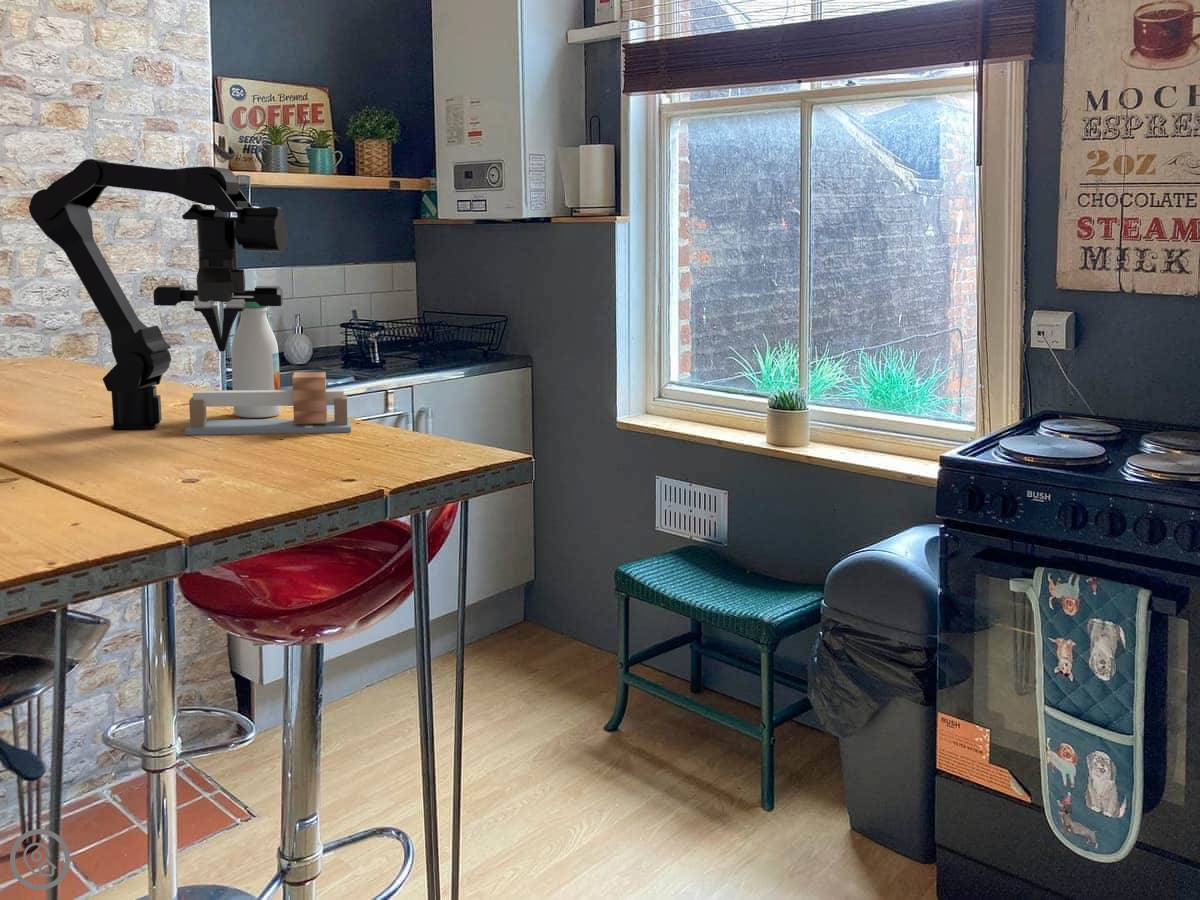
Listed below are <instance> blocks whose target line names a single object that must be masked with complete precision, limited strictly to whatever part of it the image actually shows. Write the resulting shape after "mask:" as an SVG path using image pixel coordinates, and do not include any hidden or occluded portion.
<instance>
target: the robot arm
mask: <svg viewBox="0 0 1200 900" xmlns="http://www.w3.org/2000/svg"><path fill="white" fill-rule="evenodd" d="M108 187H111V188H122V189H129V190H130V189H131V190H136V191H137V190H139V191H147V192H157V193H165V194H166V193H167V194H170V195H173V196H177V197H179V198H181V199H184V200H187V201H189V202H190V201H191V202H194V203H192V205H191V206H190V208H188V210H187V211H186V212H184V213H183V214H182V215H181V218H182V219H183V220H187V221H188V220H191V221H192V220H193V221H194V220H195V221H196V231H197V232H196V233H197V253H198V254H197V255H198V271H197V274H196V287H197V288H196V289H186V288H185V285H184V284H182V285H181V284H169V285H167V284H165V285H164V284H161V285H158V286H156V287H155V289H154V290H153V305H154V306H157V307H158V306H164V307H165V306H170V307H171V306H174V307H175V306H176V305H178V303H179V304H180V303H181V302H193V304H194V308H193V311H194V312H200V313H201V315H202V316H203V318H204V319H205V321H206V323H207V324H208V327H209V328H210V329H209V330H210V331H211V334H212V336H213V340H214V342H215V344H216V347H217V350H218V352H222V353H223V352H225V351H226V348H227V345H228V341H229V338H230V335H231V331H232V329H233V325H234V322H235V320H236V318H237V316H238V314H239V312H240V313H241V312H242V311H244V310H245V309H246V306H245V303H246V302H256V303H257V304H258V305H260V306H267V307H282V306H283V304H284V295H283V294H284V293H283V289H282V288H281V287H280V286H279V285H256V286H255V287H254V290H252V289H251V290H249V289H248V290H247V289H246V276H245V269H243V268H239V267H238V263H239V262H238V261H239V260H238V245H239V246H242V248H243V249H244V251H246V252H266V253H267V252H269V253H272V252H273V253H276V252H277V253H283V252H284V251H285V250H286V248H287V245H288V238H289V233H288V232H289V231H288V230H289V229H288V228H287V224H286V221H285V218H284V216H283V213H282V212H283V211H282V207H281V206H267V207H254V206H253V205H252V204H251V202H250V200H248V199H247V197H246V196H245V195H244V193H243V192H242V191H241V189H240V182H239V179H238V178H237V176H236V175H235V174H234V172H233V171H231V170H230V169H229V168H225V167H218V166H209V165H208V166H205V165H204V166H191V167H180V168H170V169H169V168H163V167H162V168H160V167H153V166H143V165H135V164H134V165H133V164H127V163H116V162H109V161H107V160H104V159H95V158H87V159H84V160H83V161H82V162H80V163H79V164H78V165H77V166H76V167H75V168H74V169H73V170H71V171H70V172H68V173H66V174H65V175H63V176H62V177H60V178H58V179H57V180H55V181H54V182H52V183H51V184H50V185H49V186H48V187H47V188H42V189H41V190H38V191H36V192H35V193H34V194H33V195H32V197H31V198H30V202H29V205H28V212H29V214H30V217H31V218H32V220H33V222H35V224H36V225H37V226H38V227H39V228H40V230H41V231H42V232H43V233H44V235H45V236H46V237H48V239H50V240H51V241H52V242H53V243H55V244H56V245H57V246H58V247H59V248H61V249H62V251H63V252H64V253H65V255H66V257H67V259H68V260H69V262H70V264H71V266H72V267H73V269H74V271H75V273H76V274H77V276H78V278H79V279H80V281H81V283H82V285H83V286H84V288H85V290H86V292H87V293H88V295H89V297H90V299H91V301H92V303H93V304H94V306H95V308H96V310H97V311H98V313H99V315H100V316H101V318H102V320H103V322H104V324H105V325H106V327H107V329H108V332H109V333H110V342H111V352H112V354H113V357H114V361H115V362H116V364H115V365H114V366H113V367H112V368H111V369H110V370H109V371H108V372H107V373H106V375H105V376H104V377H103V378H102V382H103V384H104V386H105V389H106V390H107V391H108V392H111V403H112V404H111V405H112V406H111V407H112V419H113V420H112V422H113V423H112V424H111V425H110V428H111V429H112V430H130V429H131V430H134V429H135V430H137V429H138V430H139V429H140V430H142V429H143V430H144V429H146V430H147V429H155V428H156V427H157V426H159V424H160V423H161V422H162V419H163V417H162V416H163V414H162V401H161V395H160V394H159V395H158V394H157V393H158V392H157V386H159V385H160V383H161V381H162V377H163V375H164V374H165V373H166V372H167V371H168V369H169V367H170V366H171V365H170V364H171V362H172V355H171V353H170V350H169V349H171V348H172V347H171V345H170V344H169V343H167V340H166V339H164V336H163V334H162V330H161V329H160V327H159V325H152V326H147V325H146V324H145V323H143V322H142V321H141V320H140V318H139V317H138V316H137V314H136V312H135V310H134V308H133V307H132V305H131V303H130V301H129V299H128V298H127V296H126V294H125V292H124V291H123V289H122V287H121V285H120V283H119V282H118V280H117V278H116V276H115V275H114V272H113V271H112V269H111V267H110V265H109V264H108V262H107V261H106V258H105V257H104V255H103V254H102V252H101V250H100V248H99V246H98V245H97V242H96V241H95V238H94V231H93V230H94V229H93V221H92V218H91V215H90V213H89V212H90V211H89V209H91V207H92V206H94V205H95V204H96V203H97V202H98V200H99V198H100V197H101V195H102V194H103V192H104V190H105V189H107V188H108ZM195 203H196V204H195ZM200 204H201V205H200ZM202 205H205V206H213V207H215V208H216V209H210V208H203V206H202ZM225 213H236V216H226V214H225ZM245 289H246V290H245ZM220 302H221V303H225V304H226V305H225V307H223V308H222V313H223V315H222V316H223V317H222V318H223V319H222V328H221V323H220V315H219V308H218V305H214V304H215V303H220ZM111 429H110V430H111Z"/></svg>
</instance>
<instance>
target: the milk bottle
mask: <svg viewBox="0 0 1200 900" xmlns="http://www.w3.org/2000/svg"><path fill="white" fill-rule="evenodd" d="M245 306H246V309H245V310H244V311H242V312H240V319H239V322H238V325H237V329H236V331H235V333H234V335H233V338H232V343H231V378H232V379H231V381H232V382H231V383H232V390H281V381H280V380H281V379H280V377H281V376H280V357H279V347H278V342H277V338H276V336H275V333H274V332H273V330H272V329H273V328H272V327H271V325H270V323H269V320H268V316H267V311H268V306H260V305H258V304H257V303H256V302H246V303H245ZM232 407H233V413H234V416H236V417H240V418H247V419H248V418H249V419H252V418H253V419H255V418H256V419H257V418H258V419H260V418H261V419H262V418H263V419H264V418H271V417H275V416H276V417H277V416H279V415H280V413H281V410H282V409H281V407H282V406H232Z"/></svg>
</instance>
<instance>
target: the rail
mask: <svg viewBox="0 0 1200 900" xmlns="http://www.w3.org/2000/svg"><path fill="white" fill-rule="evenodd" d="M188 402H189V404H188V405H189V407H188V408H189V424H188V425H187V427H186V428H185V431H184V432H185V435H186V436H187V435H188V436H191V435H192V436H195V435H201V436H202V435H203V436H204V435H205V436H206V435H246V434H247V435H250V434H251V435H253V434H254V435H256V434H262V435H263V434H309V433H311V434H312V433H313V434H314V433H315V434H319V433H323V434H324V433H351V430H352V429H351V427H352V426H351V425H352V424H351V418H350V417H348V395H346V394H345V395H344V389H326V405H327V406H333V407H334V410H333V411H334V412H333V413H334V415H333V416H334V417H332V418H327V421H326V423H314V424H294V418H287V419H286V418H285V419H284V418H279V419H278V418H275V419H273V418H271V419H270V418H269V419H264V418H263V419H208V418H207V407H209V408H211V407H212V408H214V407H233V406H281V407H285V406H286V407H289V406H292V407H293V389H280V390H233V389H232V390H231V389H229V390H194V391H192V397H191V398H190V399H189V400H188ZM207 419H208V420H207Z"/></svg>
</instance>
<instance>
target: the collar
mask: <svg viewBox="0 0 1200 900" xmlns="http://www.w3.org/2000/svg"><path fill="white" fill-rule="evenodd" d="M326 372H327V371H295V372H293V374H292V378H291V379H292V390H293V406H292V407H293V409H292V410H293V419H294V424H314V423H326V421H327V419H328V418H327V417H328V413H327V412H328V410H327V409H328V408H327V407H328V405H326V390H327V383H326V382H327V374H326Z"/></svg>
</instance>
